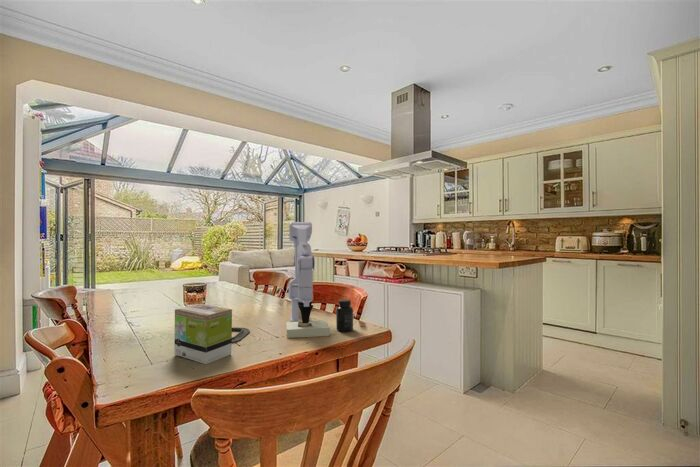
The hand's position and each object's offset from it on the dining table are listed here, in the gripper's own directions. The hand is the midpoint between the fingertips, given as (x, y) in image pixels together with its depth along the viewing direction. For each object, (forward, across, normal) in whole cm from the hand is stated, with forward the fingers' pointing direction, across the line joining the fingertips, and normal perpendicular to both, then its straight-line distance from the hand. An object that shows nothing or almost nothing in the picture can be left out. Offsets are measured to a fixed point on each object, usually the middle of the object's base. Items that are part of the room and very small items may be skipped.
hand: (305, 321), depth 129 cm
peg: (+3, 0, 0) cm, 3 cm away
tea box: (+5, +19, -33) cm, 38 cm away
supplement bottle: (+4, -1, +16) cm, 17 cm away
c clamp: (+5, 0, -30) cm, 31 cm away
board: (+4, 0, +1) cm, 4 cm away
